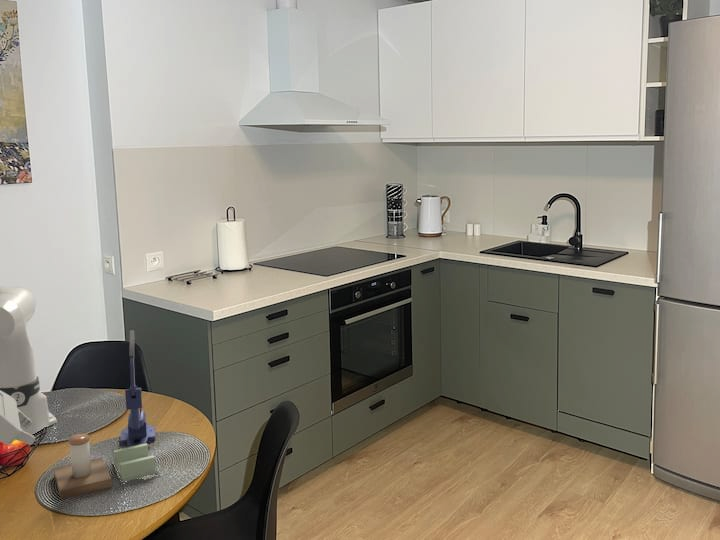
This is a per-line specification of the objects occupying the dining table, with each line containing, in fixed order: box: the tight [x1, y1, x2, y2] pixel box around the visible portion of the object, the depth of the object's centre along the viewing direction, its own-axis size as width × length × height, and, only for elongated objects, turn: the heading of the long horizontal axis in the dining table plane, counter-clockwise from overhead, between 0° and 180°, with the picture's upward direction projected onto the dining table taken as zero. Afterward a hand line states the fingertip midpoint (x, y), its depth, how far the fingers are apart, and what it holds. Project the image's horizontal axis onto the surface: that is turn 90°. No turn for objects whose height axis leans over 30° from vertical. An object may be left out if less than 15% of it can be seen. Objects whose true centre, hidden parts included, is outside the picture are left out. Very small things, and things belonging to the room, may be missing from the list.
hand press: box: [120, 330, 156, 447], centre depth 181 cm, size 19×9×28 cm, turn 17°
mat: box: [118, 468, 162, 488], centre depth 167 cm, size 14×9×1 cm, turn 30°
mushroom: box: [68, 433, 92, 478], centre depth 159 cm, size 4×4×9 cm
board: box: [53, 457, 113, 501], centre depth 161 cm, size 12×11×2 cm
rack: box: [113, 443, 158, 482], centre depth 166 cm, size 10×8×4 cm
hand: (31, 432), depth 152 cm, fingers open, 8 cm apart
